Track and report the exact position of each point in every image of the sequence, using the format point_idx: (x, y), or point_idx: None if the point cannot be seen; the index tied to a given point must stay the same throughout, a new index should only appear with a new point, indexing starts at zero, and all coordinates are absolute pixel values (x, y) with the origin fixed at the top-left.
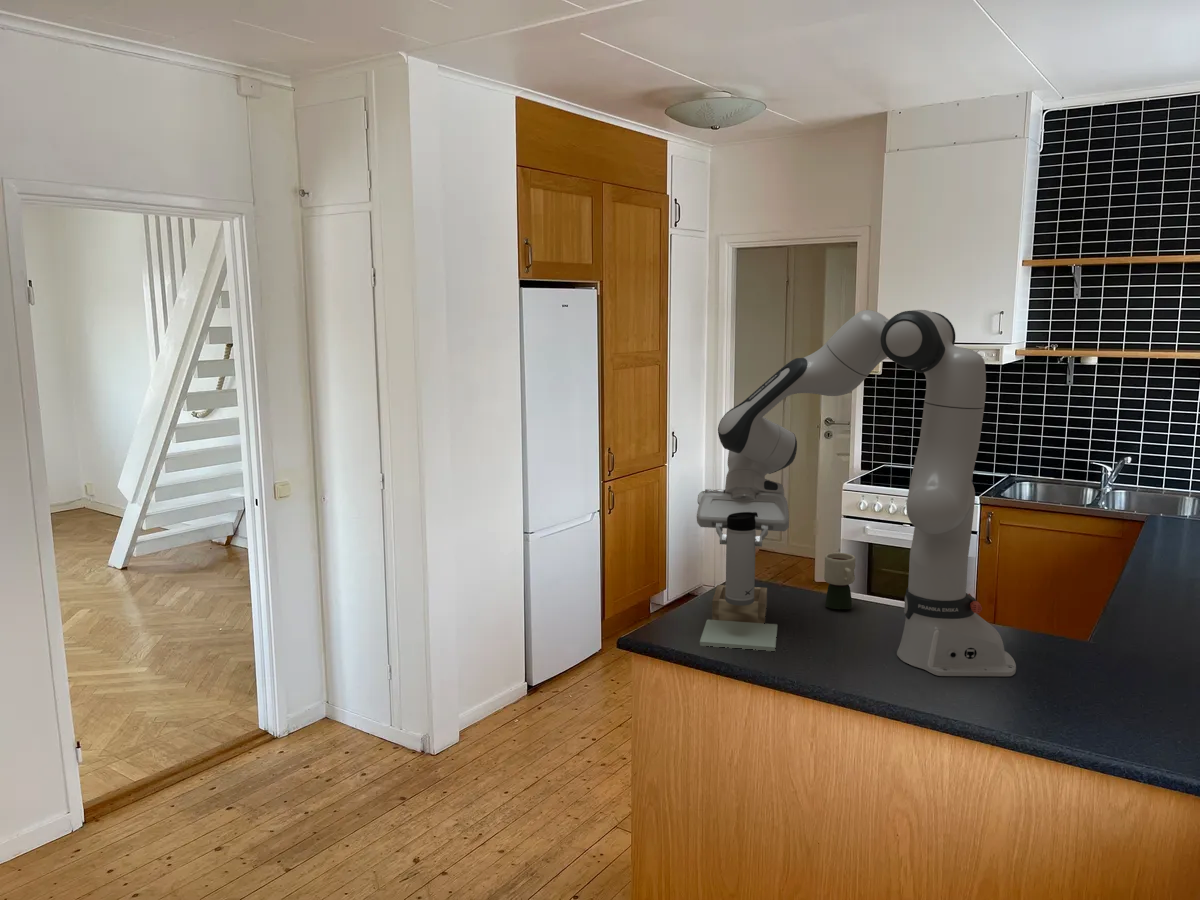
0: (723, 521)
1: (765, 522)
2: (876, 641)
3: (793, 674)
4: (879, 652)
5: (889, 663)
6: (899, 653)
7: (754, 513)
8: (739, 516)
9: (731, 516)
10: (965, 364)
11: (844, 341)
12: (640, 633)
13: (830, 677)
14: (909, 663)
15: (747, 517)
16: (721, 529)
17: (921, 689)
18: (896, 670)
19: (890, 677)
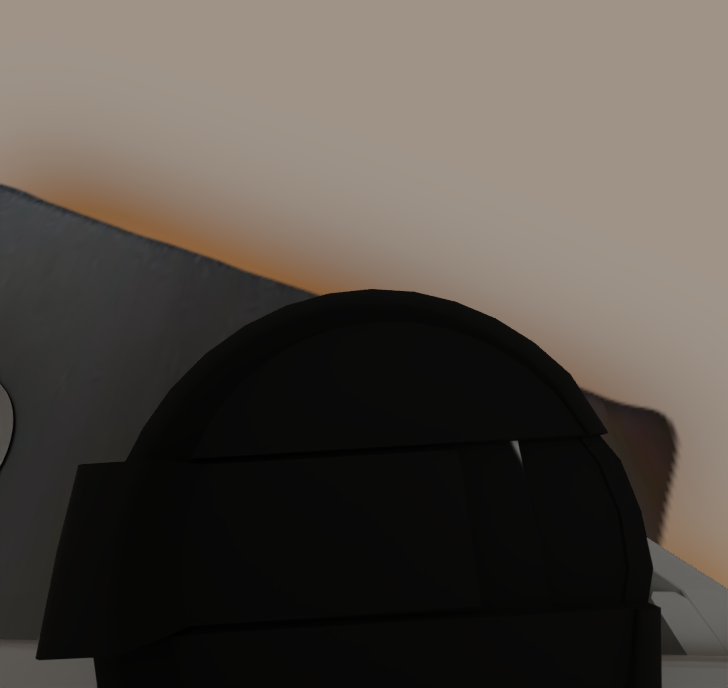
0: (688, 659)
1: (34, 640)
2: (20, 545)
3: (262, 302)
4: (44, 463)
5: (48, 399)
6: (1, 432)
7: (110, 517)
8: (429, 576)
9: (588, 605)
10: None
11: None
12: (666, 470)
13: (192, 303)
14: (5, 394)
15: (279, 480)
16: None
17: (40, 289)
18: (49, 364)
19: (75, 328)
